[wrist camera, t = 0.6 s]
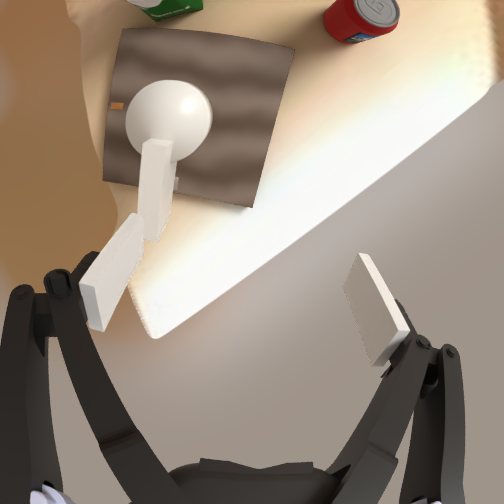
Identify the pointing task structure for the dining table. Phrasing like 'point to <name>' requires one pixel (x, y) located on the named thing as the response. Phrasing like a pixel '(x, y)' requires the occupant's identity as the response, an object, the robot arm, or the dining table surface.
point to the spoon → (164, 143)
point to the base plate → (220, 97)
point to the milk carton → (167, 7)
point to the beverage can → (361, 19)
